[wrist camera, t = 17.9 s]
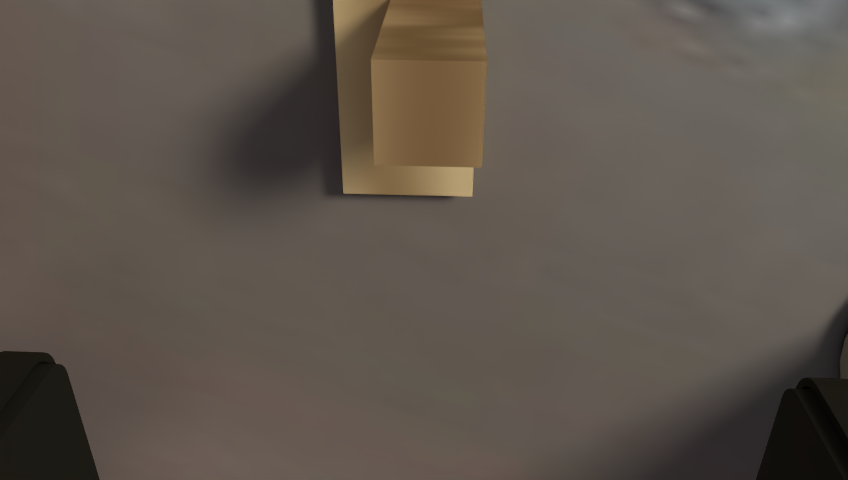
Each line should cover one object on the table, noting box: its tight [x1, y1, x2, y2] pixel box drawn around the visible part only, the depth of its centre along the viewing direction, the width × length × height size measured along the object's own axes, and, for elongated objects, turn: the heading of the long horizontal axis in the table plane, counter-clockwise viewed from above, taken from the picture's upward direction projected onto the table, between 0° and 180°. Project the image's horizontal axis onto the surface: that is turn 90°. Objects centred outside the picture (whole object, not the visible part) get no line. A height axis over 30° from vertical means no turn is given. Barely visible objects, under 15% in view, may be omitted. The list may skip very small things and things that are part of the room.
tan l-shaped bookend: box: [333, 0, 487, 196], centre depth 24 cm, size 5×12×8 cm, turn 0°
